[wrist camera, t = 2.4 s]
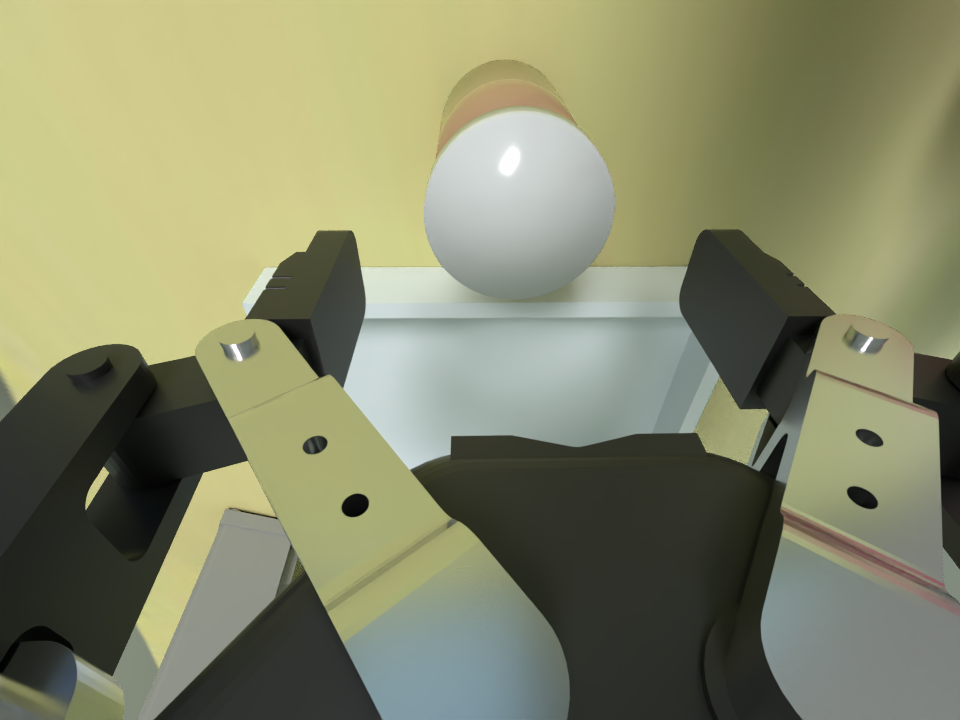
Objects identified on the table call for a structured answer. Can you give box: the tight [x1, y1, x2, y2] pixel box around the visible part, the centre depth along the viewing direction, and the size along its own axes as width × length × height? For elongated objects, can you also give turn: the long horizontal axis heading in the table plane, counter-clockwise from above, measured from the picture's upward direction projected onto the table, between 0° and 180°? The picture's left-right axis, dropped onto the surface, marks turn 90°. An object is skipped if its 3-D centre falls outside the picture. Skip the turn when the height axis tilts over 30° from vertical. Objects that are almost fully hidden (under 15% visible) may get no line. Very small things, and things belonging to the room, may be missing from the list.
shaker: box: [424, 60, 615, 299], centre depth 15 cm, size 5×5×8 cm
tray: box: [242, 266, 720, 470], centre depth 26 cm, size 16×22×3 cm
